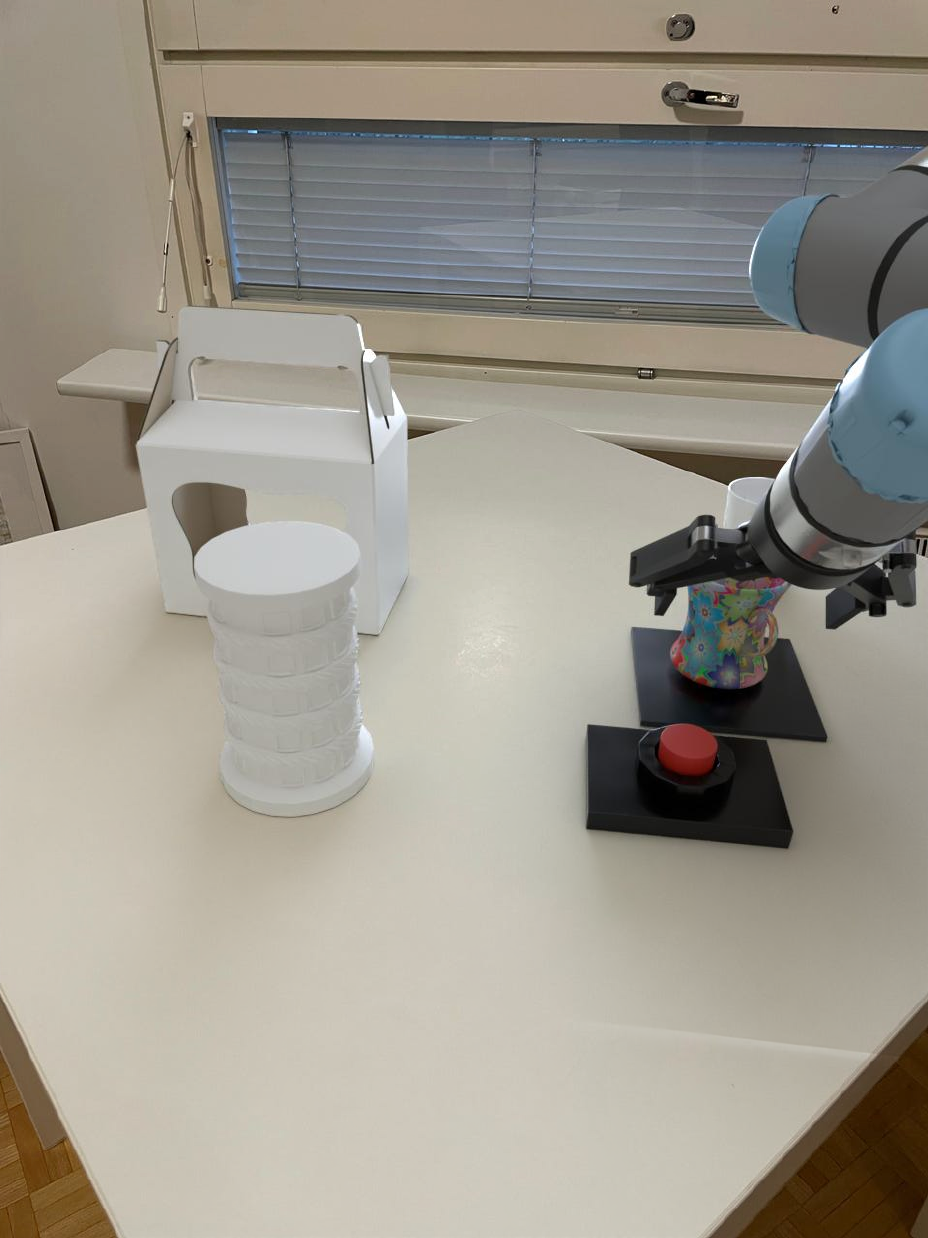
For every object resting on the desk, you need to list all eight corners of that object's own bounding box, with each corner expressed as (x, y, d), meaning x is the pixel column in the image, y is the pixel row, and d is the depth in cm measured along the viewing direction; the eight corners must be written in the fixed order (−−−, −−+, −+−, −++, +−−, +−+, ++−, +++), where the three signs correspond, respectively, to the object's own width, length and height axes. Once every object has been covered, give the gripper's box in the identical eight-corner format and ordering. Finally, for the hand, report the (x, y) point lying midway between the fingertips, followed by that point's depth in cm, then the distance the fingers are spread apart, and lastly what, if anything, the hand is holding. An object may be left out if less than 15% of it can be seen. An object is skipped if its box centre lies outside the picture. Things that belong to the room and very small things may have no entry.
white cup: (761, 601, 90) (781, 513, 85) (698, 574, 95) (713, 488, 90) (801, 579, 95) (822, 493, 90) (739, 553, 100) (756, 471, 95)
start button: (709, 744, 65) (713, 726, 64) (717, 780, 62) (721, 761, 61) (655, 739, 66) (659, 721, 65) (660, 775, 62) (663, 756, 61)
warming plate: (788, 643, 83) (790, 638, 83) (826, 742, 71) (828, 736, 70) (630, 631, 85) (631, 626, 84) (639, 726, 72) (640, 720, 72)
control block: (762, 756, 69) (771, 721, 67) (788, 849, 61) (799, 812, 59) (585, 740, 70) (589, 705, 68) (586, 829, 62) (590, 792, 60)
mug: (648, 645, 82) (664, 543, 76) (740, 636, 83) (762, 536, 78) (702, 723, 71) (725, 612, 66) (805, 712, 73) (836, 603, 68)
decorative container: (400, 741, 70) (396, 537, 60) (322, 837, 60) (304, 614, 51) (278, 703, 74) (257, 507, 64) (188, 788, 64) (148, 573, 55)
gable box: (411, 573, 94) (408, 302, 80) (382, 636, 83) (372, 335, 68) (216, 553, 97) (179, 289, 83) (162, 613, 86) (108, 319, 71)
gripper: (611, 557, 51) (587, 638, 71) (1065, 590, 48) (904, 664, 69) (619, 438, 52) (592, 551, 73) (1057, 465, 50) (902, 573, 71)
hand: (744, 606), depth 71 cm, fingers open, 13 cm apart
